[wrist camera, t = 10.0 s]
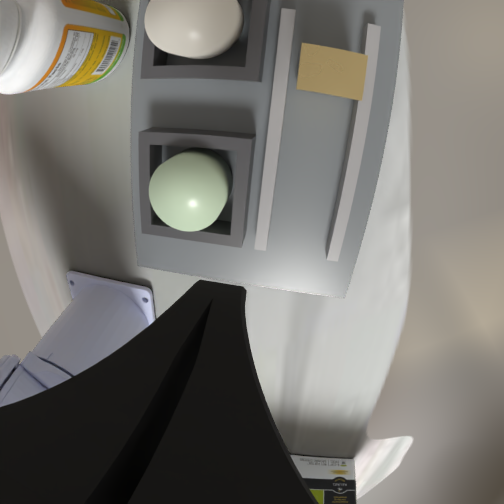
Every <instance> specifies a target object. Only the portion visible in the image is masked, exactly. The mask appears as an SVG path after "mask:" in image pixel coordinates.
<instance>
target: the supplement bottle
mask: <svg viewBox="0 0 504 504" xmlns="http://www.w3.org/2000/svg"><path fill="white" fill-rule="evenodd" d="M128 43H129V27H128V23H127V21H126V19H125V17H124V16H123V14H122V13H121V12H120V11H119V10H117V9H116V8H114V7H111V6H109V5H106V4H102V3H99V2H96V1H92V0H0V93H2V94H16V93H23V92H29V91H34V90H40V89H47V88H55V87H64V86H74V85H84V84H91V83H95V82H98V81H100V80H102V79H104V78H106V77H107V76H108V75H110V74H111V73H112V72H113V71H114V70H115V69H116V68H117V66H118V65H119V64H120V62H121V61H122V59H123V57H124V55H125V53H126V50H127V47H128Z"/></svg>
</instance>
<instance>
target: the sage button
mask: <svg viewBox="0 0 504 504" xmlns="http://www.w3.org/2000/svg"><path fill="white" fill-rule="evenodd" d="M232 187H233V179H232V174H231V171H230V168H229V166H228V165H227V163H226V162H225V160H224V159H223V158H222V157H221V156H219V155H218V154H217V153H215V152H213V151H211V150H209V149H205V148H198V147H195V148H189V149H186V150H183V151H182V152H180V153H178V154H177V155H175V156H173V157H172V158H170V159H169V160H167V161H165V162H164V163H162V164H161V165H160V166H159V167H158V168H157V169H156V170H155V172H154V173H153V175H152V177H151V180H150V184H149V198H150V202H151V205H152V207H153V209H154V211H155V213H156V214H157V215H158V217H159V218H160V219H161V220H162V221H163V222H165V223H166V224H167V225H169V226H171V227H173V228H175V229H178V230H181V231H189V232H190V231H198V230H202V229H204V228H206V227H208V226H209V225H211V224H212V223H213V222H214V221H215V220H216V219H217V218H218V216H219V214H220V213H221V211H222V209H223V207H224V206H225V204H226V202H227V200H228V199H229V197H230V195H231V192H232Z"/></svg>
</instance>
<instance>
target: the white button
mask: <svg viewBox="0 0 504 504" xmlns="http://www.w3.org/2000/svg"><path fill="white" fill-rule="evenodd" d="M144 23H145V29H146V33H147V35H148V37H149V39H150V40H151V41H152V43H153V44H154V45H156V46H157V47H158V48H159V49H161V50H163V51H165V52H168V53H171V54H175V55H179V56H183V57H187V58H192V59H208V58H212V57H216V56H218V55H220V54H222V53H224V52H226V51H227V50H228V49H230V48H231V47H232V46H233V45H234V44H235V43H236V42H237V40H238V39H239V37H240V35H241V33H242V30H243V27H244V14H243V10H242V8H241V6H240V4H239V3H238V1H237V0H150V2H149V4H148V6H147V9H146V12H145V20H144Z"/></svg>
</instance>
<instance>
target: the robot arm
mask: <svg viewBox="0 0 504 504" xmlns="http://www.w3.org/2000/svg"><path fill="white" fill-rule="evenodd" d="M66 276H67V280H68V284H69V288H70V291H71V295H72V298H73V301H72V302H71V303H70V304H69V305H68V306H67V308H66V309H65V310H64V311H63V312H62V314H61V315H60V316H59V317H58V319H57V320H56V321H55V322H54V324H53V325H52V326H51V327H50V329H49V330H48V331H47V332H46V334H45V335H44V336H43V337H42V339H41V340H40V341H39V343H38V344H37V345H36V347H35V348H34V349H33V351H32V352H31V351H30V352H29V353H28V354H27V355H26V357H25V358H24V360H23V361H22V362H21V364H19V362H20V358H19V357H18V356H17V355H15V354H13V355H12V356H10V355H4V356H3V357H2V358H1V359H0V504H319V503H318V502H317V500H316V499H315V497H314V496H313V494H312V492H311V491H310V489H309V488H308V486H307V484H306V483H305V481H304V479H303V478H302V476H301V474H300V472H299V471H298V469H297V467H296V465H295V464H294V462H293V460H292V458H291V456H290V454H289V452H288V450H287V448H286V446H285V444H284V442H283V440H282V438H281V436H280V433H279V431H278V429H277V427H276V425H275V422H274V420H273V418H272V415H271V413H270V410H269V408H268V405H267V402H266V400H265V397H264V394H263V391H262V389H261V385H260V382H259V379H258V376H257V372H256V369H255V365H254V361H253V357H252V353H251V349H250V344H249V338H248V333H247V327H246V318H245V301H246V292H247V291H246V289H245V288H244V287H242V286H236V285H230V284H223V283H217V282H211V281H205V280H199V281H197V282H196V283H195V284H194V285H193V286H192V287H191V288H190V289H189V290H188V291H187V292H186V293H185V294H184V295H183V296H181V297H180V298H179V299H178V300H177V301H176V302H175V303H174V304H173V305H172V306H171V307H170V308H168V309H167V310H166V311H165V312H164V313H163V314H162V315H160V316H159V317H158V318H157V319H156V320H155V313H154V304H153V296H152V291H151V290H150V289H149V288H148V287H144V286H139V285H135V284H130V283H125V282H120V281H115V280H111V279H106V278H102V277H97V276H93V275H88V274H84V273H79V272H75V271H69V272H68V273H67V275H66ZM144 297H145V298H147V299H148V300H147V299H145V298H144Z"/></svg>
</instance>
